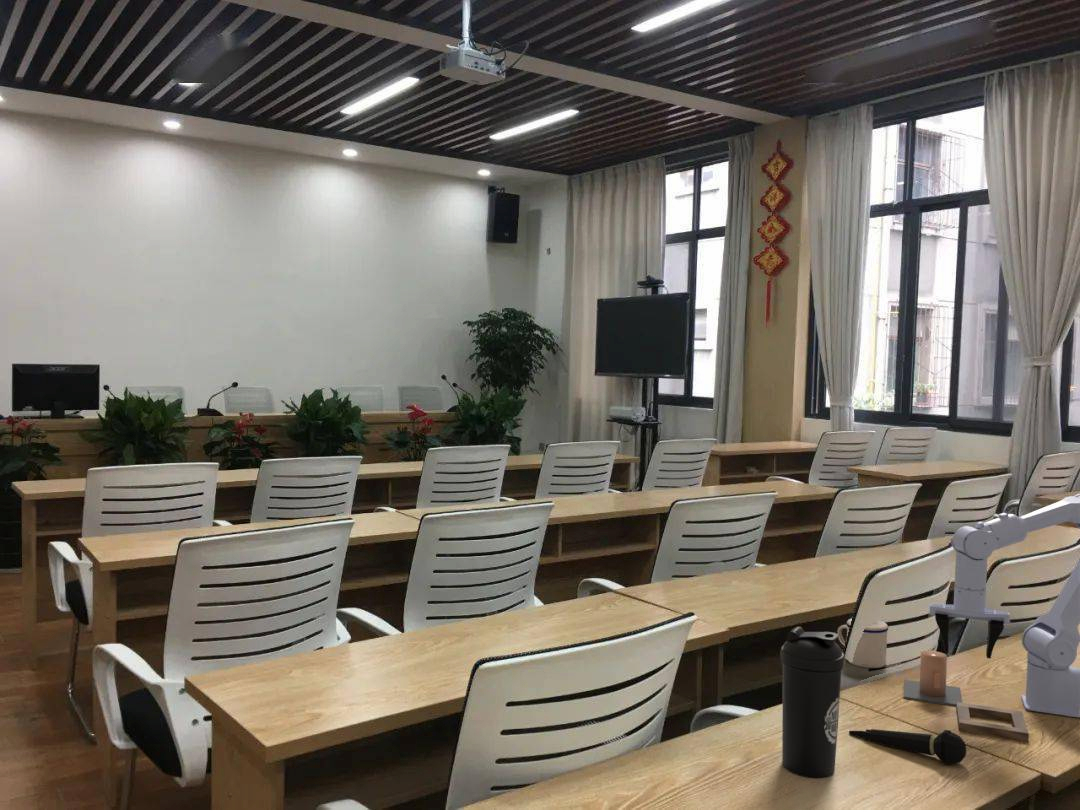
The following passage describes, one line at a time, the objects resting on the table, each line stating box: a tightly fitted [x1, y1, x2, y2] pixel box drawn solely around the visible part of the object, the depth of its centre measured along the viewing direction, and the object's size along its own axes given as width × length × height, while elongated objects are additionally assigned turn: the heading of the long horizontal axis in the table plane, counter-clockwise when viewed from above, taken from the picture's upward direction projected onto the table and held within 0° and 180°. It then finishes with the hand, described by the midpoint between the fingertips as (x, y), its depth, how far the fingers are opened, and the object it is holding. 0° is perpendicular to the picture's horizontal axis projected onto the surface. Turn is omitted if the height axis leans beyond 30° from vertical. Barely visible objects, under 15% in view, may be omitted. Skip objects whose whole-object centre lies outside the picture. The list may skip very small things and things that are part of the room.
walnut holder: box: [955, 702, 1030, 742], centre depth 171 cm, size 12×12×2 cm
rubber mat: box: [903, 679, 963, 707], centre depth 187 cm, size 11×11×1 cm
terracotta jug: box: [919, 649, 948, 697], centre depth 185 cm, size 8×5×8 cm, turn 166°
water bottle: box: [780, 626, 845, 779], centre depth 151 cm, size 10×10×23 cm
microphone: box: [848, 728, 967, 766], centre depth 159 cm, size 6×6×20 cm
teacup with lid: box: [837, 617, 889, 669], centre depth 207 cm, size 12×9×12 cm
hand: (967, 654), depth 180 cm, fingers open, 7 cm apart
